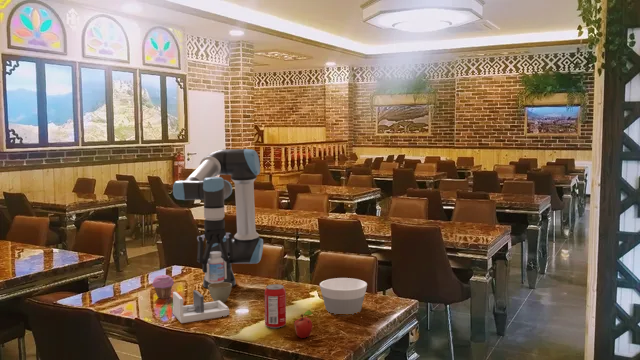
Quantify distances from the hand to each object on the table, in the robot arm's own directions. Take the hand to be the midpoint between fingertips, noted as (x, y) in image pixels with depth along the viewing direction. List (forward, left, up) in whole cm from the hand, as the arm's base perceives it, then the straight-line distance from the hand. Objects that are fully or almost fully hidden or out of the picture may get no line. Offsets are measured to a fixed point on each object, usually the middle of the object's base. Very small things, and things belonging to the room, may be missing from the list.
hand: (215, 279), depth 217 cm
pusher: (+5, -12, -16) cm, 21 cm away
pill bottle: (0, 0, -1) cm, 1 cm away
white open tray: (+3, -12, -17) cm, 21 cm away
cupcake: (+10, -44, -17) cm, 48 cm away
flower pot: (-10, -26, -17) cm, 33 cm away
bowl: (-50, +10, -17) cm, 54 cm away
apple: (-22, +31, -17) cm, 41 cm away
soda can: (-18, +15, -17) cm, 29 cm away
